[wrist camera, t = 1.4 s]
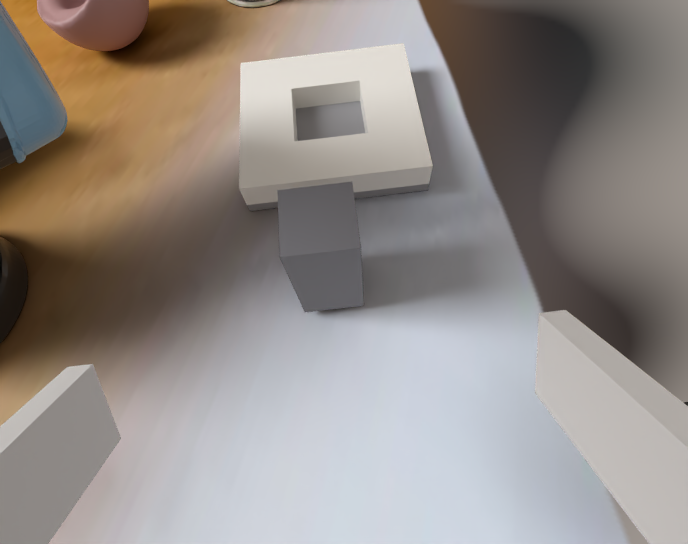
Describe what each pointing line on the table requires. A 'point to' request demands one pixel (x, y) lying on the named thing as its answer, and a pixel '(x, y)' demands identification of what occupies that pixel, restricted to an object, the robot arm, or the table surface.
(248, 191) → the socket
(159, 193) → the table surface
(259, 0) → the coffee can
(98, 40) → the mortar and pestle
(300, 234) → the plug
